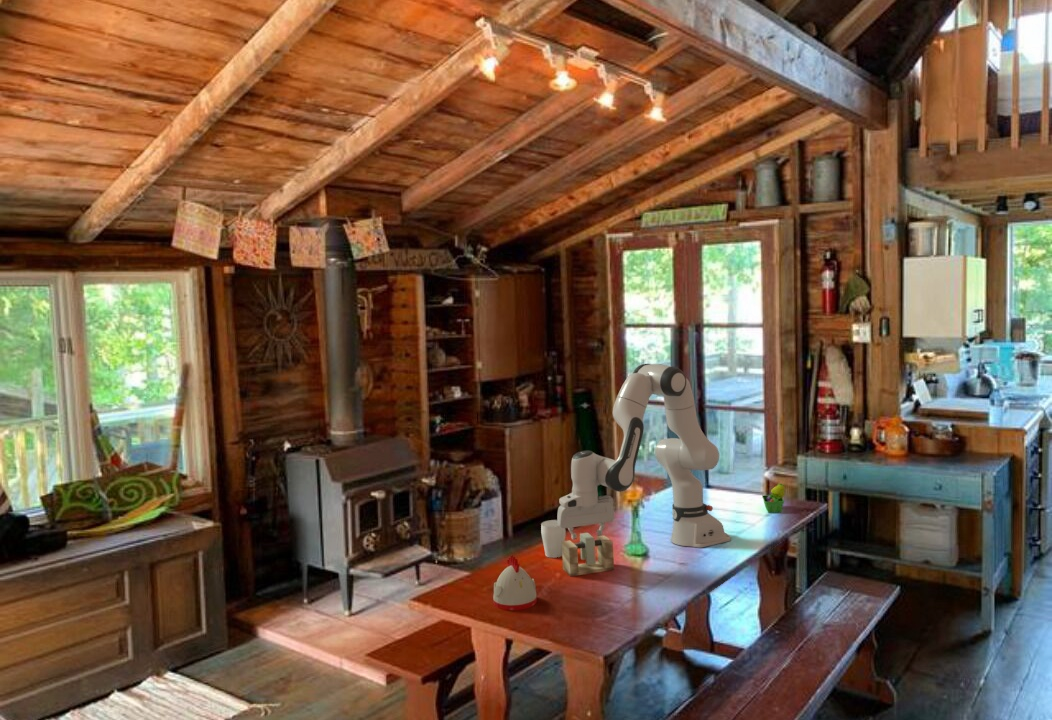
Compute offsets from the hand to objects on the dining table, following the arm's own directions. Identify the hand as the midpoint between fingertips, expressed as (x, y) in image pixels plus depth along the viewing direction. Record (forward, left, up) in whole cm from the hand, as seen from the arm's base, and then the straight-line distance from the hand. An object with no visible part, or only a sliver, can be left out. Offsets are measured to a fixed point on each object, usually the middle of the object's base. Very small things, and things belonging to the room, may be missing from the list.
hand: (586, 537), depth 298 cm
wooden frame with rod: (0, 0, -12) cm, 12 cm away
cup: (+6, -20, -12) cm, 24 cm away
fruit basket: (-97, -37, -12) cm, 104 cm away
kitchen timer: (+32, +19, -12) cm, 39 cm away
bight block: (0, 0, -9) cm, 9 cm away
